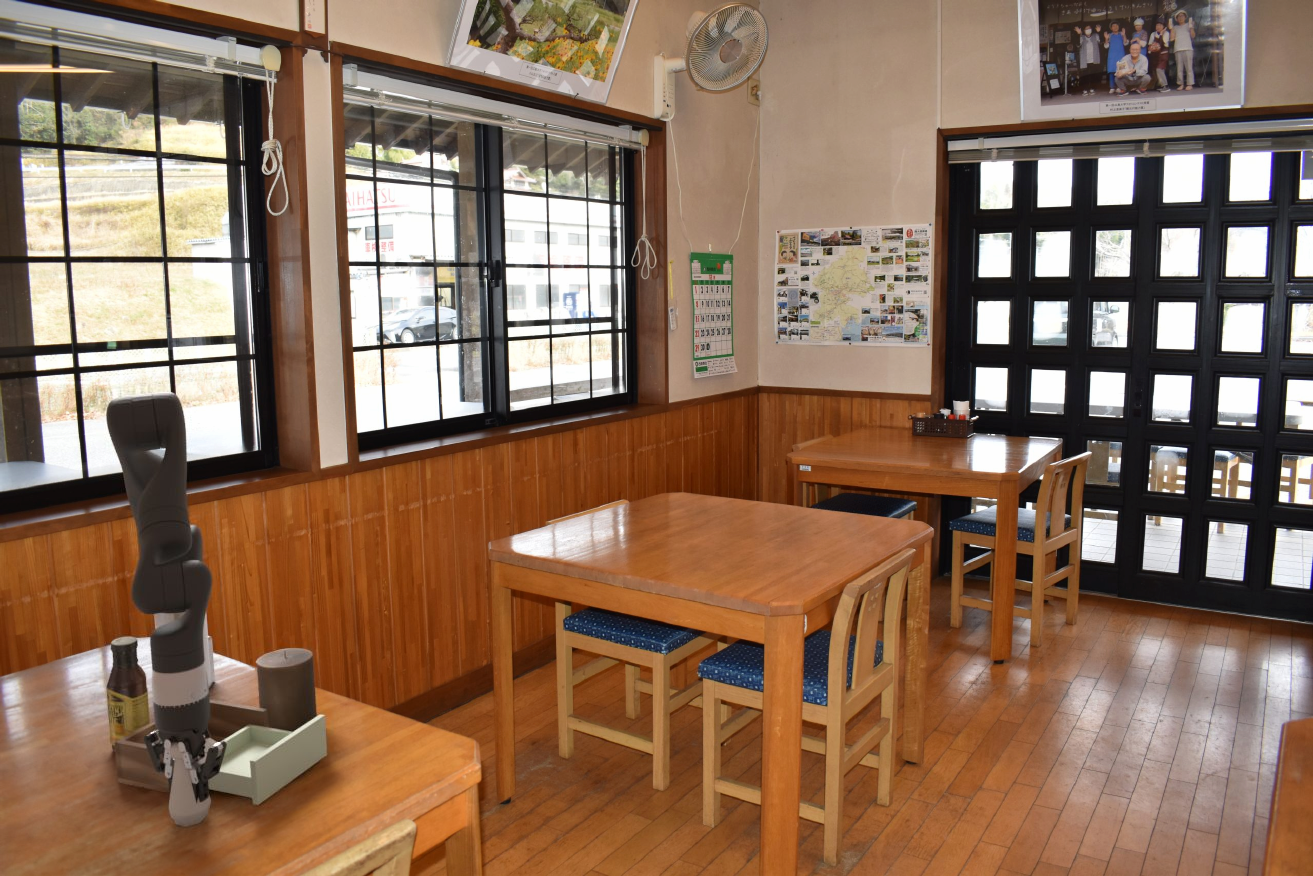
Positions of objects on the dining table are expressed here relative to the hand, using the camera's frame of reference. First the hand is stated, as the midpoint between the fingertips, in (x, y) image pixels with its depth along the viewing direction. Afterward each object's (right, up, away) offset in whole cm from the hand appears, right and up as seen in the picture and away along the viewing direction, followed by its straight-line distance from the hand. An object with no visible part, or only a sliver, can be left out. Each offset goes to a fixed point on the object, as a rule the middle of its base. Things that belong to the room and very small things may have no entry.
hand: (189, 800), depth 148 cm
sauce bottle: (-21, 0, +23) cm, 31 cm away
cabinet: (-7, 0, +17) cm, 19 cm away
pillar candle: (+4, +2, +31) cm, 31 cm away
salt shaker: (0, -3, +1) cm, 3 cm away
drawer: (+5, 0, +13) cm, 14 cm away
